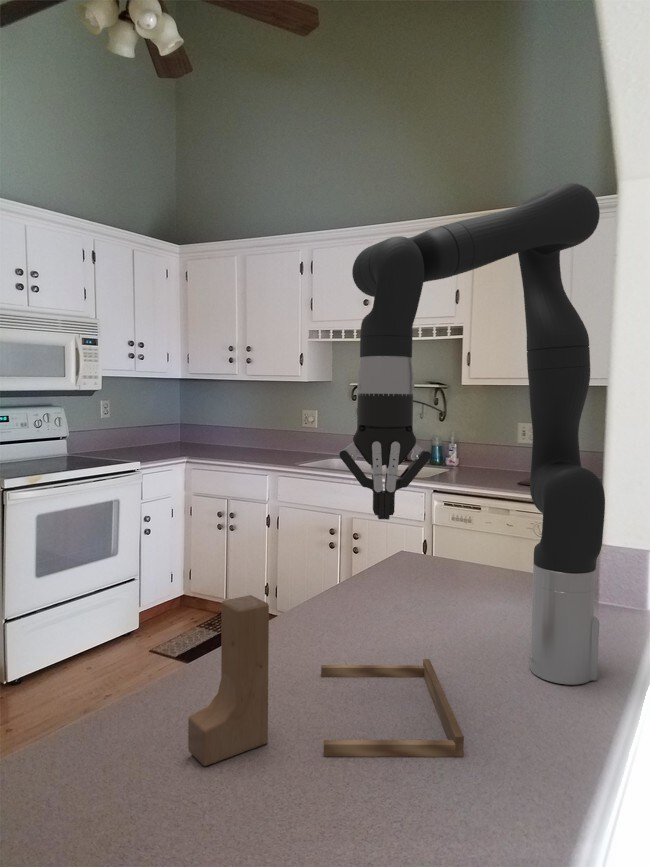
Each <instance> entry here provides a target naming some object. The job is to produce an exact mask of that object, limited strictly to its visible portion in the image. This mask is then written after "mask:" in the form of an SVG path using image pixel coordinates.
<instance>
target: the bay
mask: <svg viewBox="0 0 650 867" xmlns="http://www.w3.org/2000/svg"><path fill="white" fill-rule="evenodd" d="M320 669H321V670H320V677H321V678H424V681H425V684H426V687H427V688H428V691H429V694H430V696H431V699H432V702H433V704H434V707H435V710H436V712H437V714H438V717H439V719H440V723H441V725H442V727H443V729H444V730H443V731H444V732H445V734H446V737H447V739H444V740H443V739H437V740H435V739H431V740H430V739H425V740H424V739H423V740H421V739H416V740H415V739H412V740H411V739H405V740H404V739H396V740H395V739H387V740H386V739H323V757H361V758H362V757H370V758H371V757H373V758H374V757H376V758H377V757H385V758H386V757H397V758H398V757H399V758H400V757H403V758H404V757H406V758H407V757H410V758H411V757H412V758H414V757H420V758H421V757H423V758H424V757H426V758H427V757H428V758H429V757H435V758H436V757H438V758H439V757H443V758H444V757H446V758H447V757H449V758H450V757H452V758H454V757H455V758H456V757H457V758H459V757H461V758H462V757H464V745H465V744H464V743H465V742H464V741H465V736H464V734H463V732H462V729H461V726H460V725H459V723H458V720H457V718H456V716H455V713H454V712H453V708H452V707H451V705H450V702H449V700H448V697H447V696H446V693H445V691H444V688H443V687H442V685H441V682H440V680H439V677H438V675H437V673H436V671H435V669H434V666H433V663H432V661H431V660H430V658H422V665H420V664H419V665H417V664H413V665H412V664H410V665H405V664H402V665H401V664H400V665H399V664H395V665H392V664H387V665H386V664H380V665H379V664H377V665H375V664H321V665H320Z"/></svg>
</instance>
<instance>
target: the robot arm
mask: <svg viewBox="0 0 650 867" xmlns="http://www.w3.org/2000/svg"><path fill="white" fill-rule="evenodd" d="M600 215H601V213H600V206H599V203H598V200H597V198H596V195H595V194H594V193H593V191H592V190H590V189H589V188H588V187H587V186H585V185H583V184H580V183H574V182H571V183H570V182H569V183H564V184H559V185H558V186H555V187H551V188H550V189H548V190H545V191H542V192H540V193H538V194H536V195H534V196H531V197H530V198H528V199H526V200H525V201H524V202H522V203H521V205H519V206H515V207H512V208H509V209H505V210H501V211H498V212H497V211H496V212H493V213H489V214H485V215H480V216H475V217H471V218H467V219H462V220H459V221H455V222H450V223H447V224H444V225H440V226H436V227H432V228H429V229H428V230H425V231H423V232H421V233H419V234H417V235H413V236H411V237H405V236H402V235H400V236H393V237H390V238H387V239H384V240H381V241H379V242H378V243H375V244H373V245H372V244H371V245H370V246H368V247H366V248H364V249H363V250H362V251H361V252H360V253H358V255H357V257H356V258H355V260H354V262H353V265H352V272H351V273H352V280H353V283H354V284H355V286H356V287H357V289H358V290H360V291H361V293H363V294H365V295H366V296H369V297H371V298H372V297H373V298H374V299H373V305H372V308H371V310H370V311H369V312H368V314H367V315H365V316H364V317H363V319H362V321H361V324H360V333H359V334H360V336H359V337H360V338H359V339H360V343H359V357H360V358H359V364H358V371H357V372H358V373H357V387H356V388H357V397H356V398H357V399H356V400H357V402H356V404H357V406H356V407H357V408H356V414H357V415H356V430H355V431H356V432H355V434H354V435H353V436H352V437H353V438H352V442H351V443H350V444H349V445H348V446H346V447H345V448H342V449H340V450H339V451H338V456H339V458H340V460H342V462H343V464H344V465H345V466H346V467H347V468H348V470H349V471H350V473H351V474H352V475H353V476H354V478H355V479H356V480H357V482H358V484H360V486H361V487H363V488H367V489H369V490H372V512H373V514H374V516H377V519H378V520H390V516H394V513H395V508H396V507H395V504H396V502H395V501H396V500H395V499H396V496H395V495H396V492H397V491H398V490H400V489H403V488H404V489H406V488H407V487H408V486H409V485H410V484H411V483H412V481H413V480H414V479H415V477H416V476H417V475H419V473H420V471H421V470H422V469H423V468H424V467H425V465H426V464H427V463H428V462H429V460H430V459H431V458H432V454H431V453H430V451H428V450H426V449H424V447H421V446H420V445H419V444H418V443H417V438H416V436H415V434H414V430H413V425H414V424H413V423H414V422H413V421H414V391H415V381H414V380H415V379H414V378H415V377H414V366H413V335H414V334H413V327H414V322H415V318H416V315H417V313H418V308H419V304H420V300H421V295H422V291H423V288H424V287H423V286H424V283H426V282H427V283H428V282H431V281H439V280H443V279H447V278H452V277H453V276H457V275H461V274H463V273H468V272H470V271H473V270H476V269H480V268H481V267H484V266H487V265H490V264H492V263H495V262H497V261H499V260H503V259H505V258H507V257H511V256H513V255H516V254H517V255H518V263H519V268H520V269H519V270H520V275H521V283H522V289H523V301H524V302H523V304H524V314H525V316H524V317H525V328H526V330H525V331H526V332H525V333H526V364H527V366H526V367H527V378H528V390H529V391H528V392H529V393H528V394H529V395H528V396H529V405H530V408H529V409H530V418H531V428H532V429H531V430H532V446H531V447H532V448H531V466H530V481H529V492H530V497H531V501H532V503H533V504H534V507H535V508H536V509H537V510H538V511H539V512H540V513H542V525H541V526H542V527H541V528H542V529H541V536H540V540H539V543H537V544H536V545H535V546H534V548H533V568H532V594H531V596H532V598H531V623H530V624H531V626H530V628H531V629H530V632H531V633H530V654H529V660H530V664H529V669H530V671H531V672H532V673H533V675H535V676H536V677H538V678H540V679H543V680H545V681H547V682H551V683H555V684H561V685H562V684H563V685H569V686H570V685H575V686H576V685H582V684H587V683H589V682H590V681H598V665H599V645H600V644H599V643H600V642H599V640H600V638H599V637H600V620H599V619H598V617H596V616H595V602H596V601H595V599H596V596H595V595H596V573H597V560H598V557H599V555H600V553H601V551H602V547H603V538H604V525H605V514H606V497H605V489H604V486H603V483H602V481H601V479H600V478H599V477H598V476H597V475H596V473H594V472H593V471H591V470H590V469H587V468H585V467H583V466H582V463H581V454H580V442H579V440H580V439H579V431H580V430H579V429H580V424H581V419H582V415H583V411H584V406H585V404H586V399H587V396H588V392H589V388H590V381H591V354H590V352H591V351H590V339H589V338H590V337H589V333H588V330H587V327H586V326H585V324H584V321H583V320H582V318H581V316H580V314H579V313H578V311H577V310H576V308H575V307H574V305H573V303H572V302H571V300H570V298H569V297H568V295H567V293H566V291H565V289H564V285H563V281H562V280H563V279H562V272H561V258H560V257H561V251H564V250H567V249H570V248H573V247H576V246H579V245H581V244H582V243H584V242H585V241H587V240H588V239H589V238H590V237H591V236H592V235H593V234H594V232H596V229H597V227H598V225H599V222H600V218H601V217H600ZM357 450H358V452H359V453H360V454H361V456H362V458H363V459H364V461H365V462H366V463H367V464H368V465H370V472H371V478H370V477H368V476H367V475H366V474H365V473H364V472H363V470H362V469H361V468H360V466H359V465H358V464H357V462H356V460H357V459H358V454H357V452H356V451H357ZM411 451H412V453H411ZM410 453H411V455H410V459H411V460H412V461H411V462H410V463H409V464H408V466H406V468H405V469H404V470H403V472H402V473H401V475H399V477H398V478H397V476H398V469H399V468H398V466H400V465H402V463H403V462H404V461H405V459H406V458H407V457H408V456H409V454H410ZM384 466H385V470H384V471H385V473H384V474H385V476H384V483H383V467H384ZM383 485H384V486H383Z"/></svg>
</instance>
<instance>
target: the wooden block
mask: <svg viewBox="0 0 650 867" xmlns="http://www.w3.org/2000/svg"><path fill="white" fill-rule="evenodd" d="M269 609H270V605H269V603H267V602H266V601H264V600H261V599H260V598H258V597H256V596H253V595H251V594H248V595H243V596H240V597H235V598H230V599H225V600H222V601H221V632H220V633H221V640H220V641H221V643H220V644H221V645H220V646H221V647H220V648H221V651H220V652H221V654H220V655H221V661H220V662H221V664H220V665H221V668H220V669H221V670H220V671H221V673H220V675H221V678H220V682H219V685H218V691H217V694H215V696H214V697H213V699H212V701H211V702H210V703H209V704H208V705H207V706H206V707H204V708H202V709H201V710H198V711H197V712H195V713H192V714H191V715H189V716H188V719H187V720H188V721H187V724H188V727H187V730H188V736H187V738H188V740H187V741H188V742H187V743H188V746H187V747H188V748H187V749H188V751H189V753H190V754H191V756H194V758H195V759H196V760H197V761H199V763H200V764H201V765H202V766H204V767H207V766H209V765H213V764H215V763H218V762H221V761H223V760H226V759H229V758H232V757H234V756H236V755H237V756H238V755H239V754H240V755H241V754H242V753H246V751H247V752H248V751H250V750H253V749H255V748H258V747H261V746H264V745H266V744H267V743H268V741H269V640H270V639H269V638H270V637H269V636H270V635H269V634H270V633H269V629H270V628H269V627H270V626H269V623H270V622H269V621H270V620H269V619H270V617H269V616H270V615H269V614H270V610H269Z"/></svg>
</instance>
